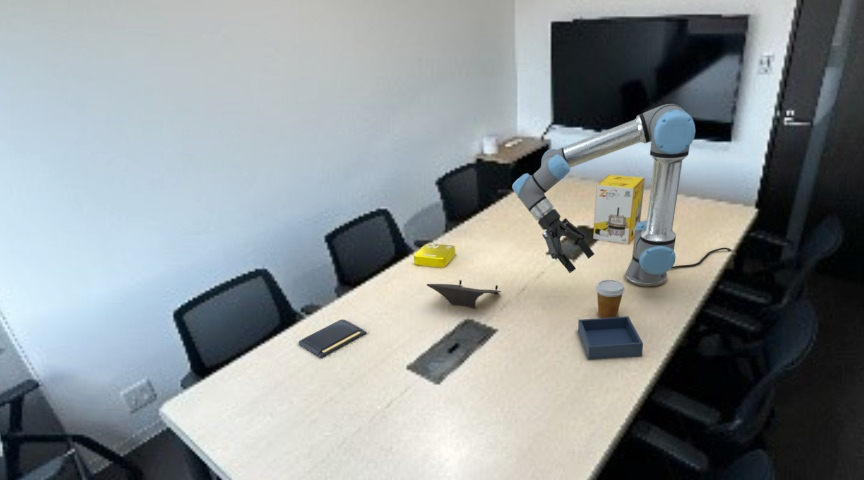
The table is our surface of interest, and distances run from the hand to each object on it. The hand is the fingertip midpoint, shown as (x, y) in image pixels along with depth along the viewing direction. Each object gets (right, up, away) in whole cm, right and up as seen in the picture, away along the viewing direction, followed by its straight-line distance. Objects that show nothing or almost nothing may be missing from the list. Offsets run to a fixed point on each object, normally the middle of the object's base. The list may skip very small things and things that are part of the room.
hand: (582, 263), depth 186 cm
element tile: (-53, +9, +55) cm, 77 cm away
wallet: (-88, -26, +5) cm, 92 cm away
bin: (+6, -28, -11) cm, 30 cm away
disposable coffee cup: (+10, -18, +4) cm, 21 cm away
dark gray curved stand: (-39, -12, +21) cm, 46 cm away
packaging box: (+30, +22, +63) cm, 73 cm away
